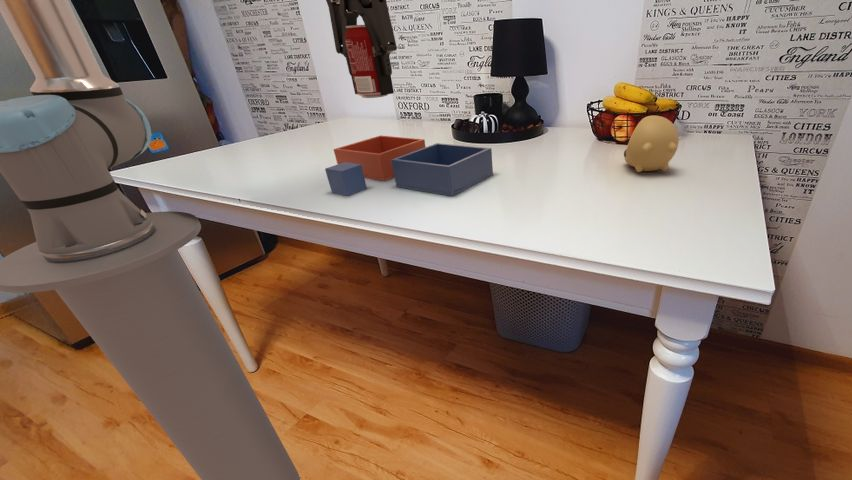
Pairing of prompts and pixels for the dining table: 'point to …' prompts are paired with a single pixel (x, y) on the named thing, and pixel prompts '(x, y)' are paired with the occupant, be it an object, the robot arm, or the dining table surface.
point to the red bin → (377, 154)
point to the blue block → (346, 178)
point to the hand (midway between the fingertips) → (374, 93)
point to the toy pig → (652, 144)
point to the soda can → (362, 61)
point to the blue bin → (443, 168)
